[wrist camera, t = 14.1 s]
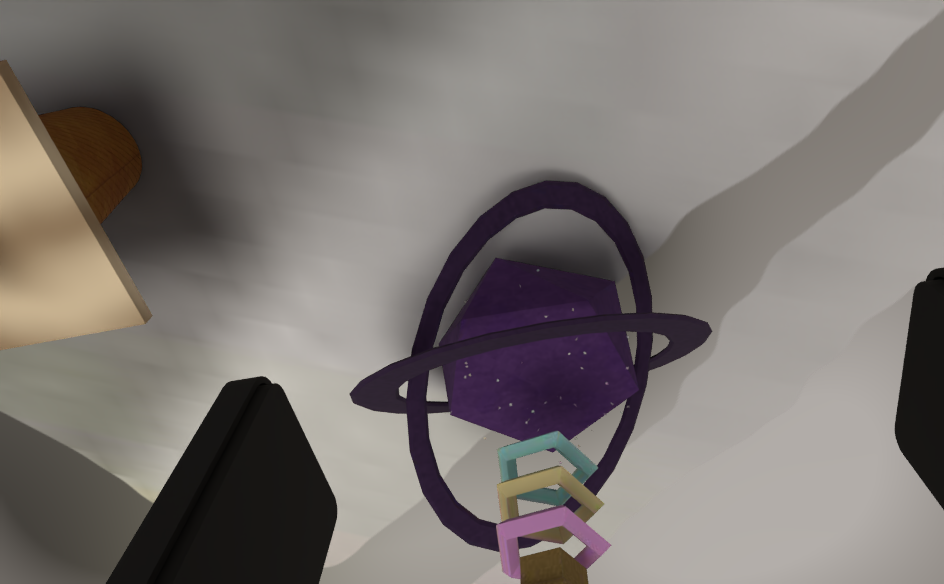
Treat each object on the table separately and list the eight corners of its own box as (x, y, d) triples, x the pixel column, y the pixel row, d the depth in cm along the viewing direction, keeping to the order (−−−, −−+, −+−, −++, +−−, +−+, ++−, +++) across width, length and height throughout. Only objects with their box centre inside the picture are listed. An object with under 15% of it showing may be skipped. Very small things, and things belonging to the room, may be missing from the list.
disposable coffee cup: (18, 182, 45) (-128, 263, 34) (30, 55, 40) (-134, 104, 30) (152, 237, 46) (52, 329, 36) (178, 120, 42) (72, 188, 32)
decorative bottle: (458, 442, 56) (427, 774, 34) (335, 244, 46) (186, 532, 25) (714, 363, 50) (871, 702, 29) (634, 120, 41) (778, 353, 19)
